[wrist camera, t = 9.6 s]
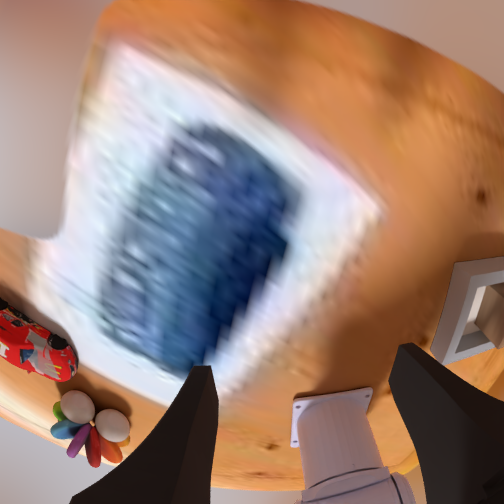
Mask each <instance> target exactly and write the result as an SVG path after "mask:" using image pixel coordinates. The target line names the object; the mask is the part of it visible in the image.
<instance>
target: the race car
mask: <svg viewBox="0 0 504 504" xmlns="http://www.w3.org/2000/svg"><path fill="white" fill-rule="evenodd" d="M66 347H67V348H66ZM0 356H1V357H3V358H4V359H5V360H7V361H8V362H10V363H11V364H13V365H15V366H17V367H19V368H21V369H24V370H28V374H29V373H30V372H31V371H32V372H36V373H38V374H41V375H43V376H45V377H47V378H49V379H52V380H54V381H58V382H64V381H67V380H69V379H71V378H72V377H73V376H74V375H75V373H76V372H77V369H78V363H77V359H76V356H75V354H74V352H73V350H72V349H71V347H70V346H69V345H68V346H67V342H66V340H65V339H63V338H61V337H59V336H58V335H56V334H54V335H51V332H49V331H47V330H46V329H44V328H43V327H41V326H39V325H38V324H36V323H35V322H33V321H32V320H30V319H29V318H27V317H26V316H24V315H23V314H21V313H20V312H18V311H17V310H15V309H14V308H12V307H11V306H10V305H9V306H8V303H7V302H5V301H4V300H2V299H1V298H0Z"/></svg>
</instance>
